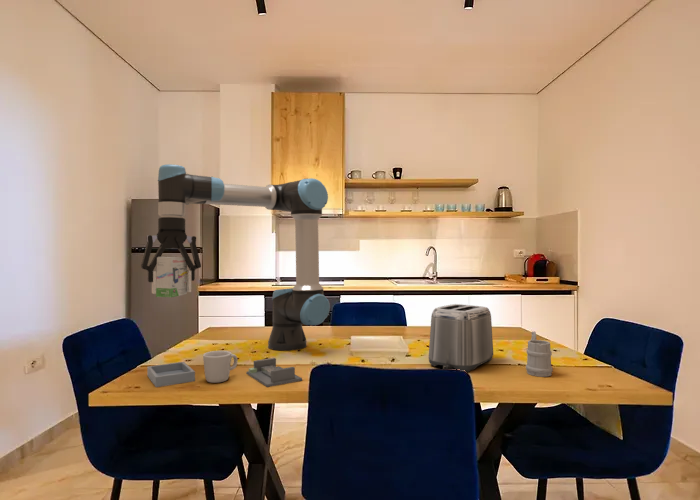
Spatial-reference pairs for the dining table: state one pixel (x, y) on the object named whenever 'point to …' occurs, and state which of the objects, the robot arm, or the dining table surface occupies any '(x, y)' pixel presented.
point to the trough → (170, 374)
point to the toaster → (460, 337)
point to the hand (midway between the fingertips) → (171, 292)
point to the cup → (218, 365)
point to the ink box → (171, 276)
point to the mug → (539, 357)
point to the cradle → (272, 373)
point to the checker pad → (268, 369)
